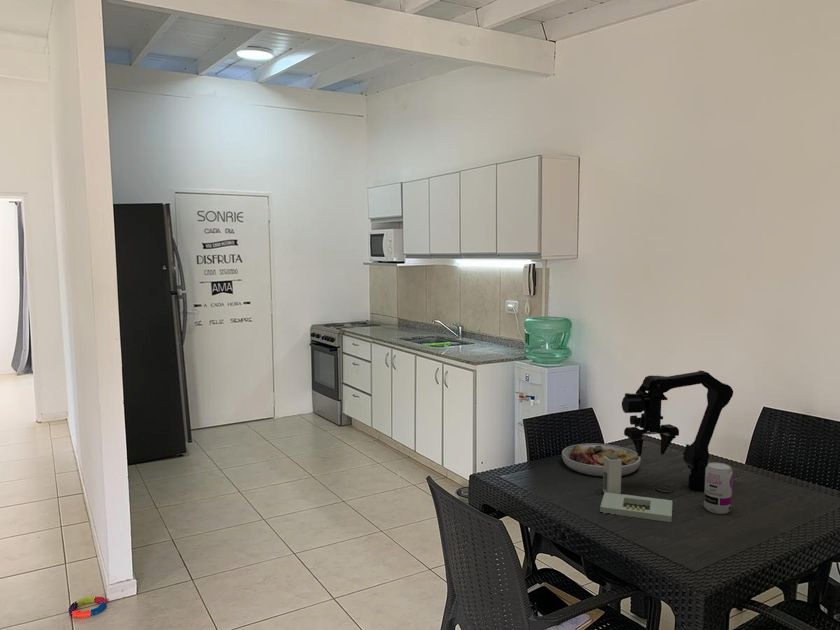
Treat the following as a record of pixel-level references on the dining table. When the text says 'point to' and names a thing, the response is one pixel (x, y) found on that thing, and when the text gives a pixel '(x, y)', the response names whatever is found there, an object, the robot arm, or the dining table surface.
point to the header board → (657, 511)
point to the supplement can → (718, 488)
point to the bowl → (598, 458)
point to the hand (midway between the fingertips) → (650, 455)
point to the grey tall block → (612, 474)
